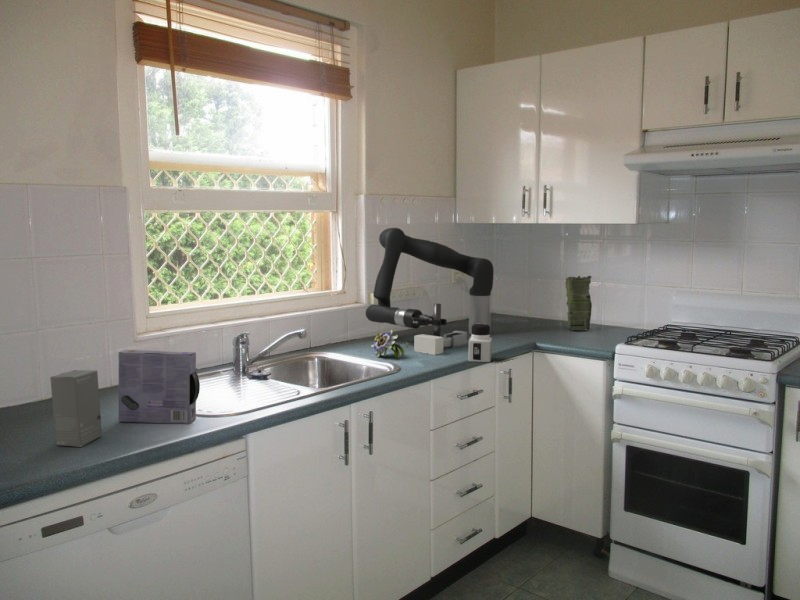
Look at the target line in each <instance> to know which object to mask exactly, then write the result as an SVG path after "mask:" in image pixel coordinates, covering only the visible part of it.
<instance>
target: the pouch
mask: <svg viewBox="0 0 800 600" xmlns="http://www.w3.org/2000/svg"><path fill="white" fill-rule="evenodd" d="M592 278H593V277H592V276H591V275H588V276H583V277H581V275H578V276H577V277H576V276H569V277H566V278H565V288H566V297H567V300H566V301H567V302H566V305H567V326H568V328H569V327H570V328H569V330H570V329H573V330H585V329H588V328H591V325H590V324H591V318H592V307H593V305H592V304H593V303H592V300H591V294H590V284H591V282H592V281H591V279H592ZM588 330H589V329H588ZM585 331H586V330H585Z"/></svg>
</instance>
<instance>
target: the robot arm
mask: <svg viewBox="0 0 800 600" xmlns="http://www.w3.org/2000/svg"><path fill="white" fill-rule="evenodd" d="M378 241H379V244H380V245H381V247H382V248H383V249H384V256H383V260H382V264H381V266H380V269H379V271H378V274H377V276H376V280H375V285H374V289H373V298H375V300H377V304H372V305H369V306H368V307H367V308H366V310H365V316H366V319H368V321H370V322H372V323H378V324H379V323H380V324H384V323H385V324H389V325H392V326H393V325H394V326H400V327H403V328H411V329H419V328H420V327H421V326H425V327H428V326H429V327H431V326H433V325H435V326H441V327H442V325H443V326H446V325H447V324H448V323H447V322H448V321H447V319H446V318H441V320H435V319H434V314H432V315H430V314H423V312H422V310H420V309H415V308H407V307H393V306H391V295H392V294H391V293H392V289H393V286H394V285H393V284H394V279H395V275H396V271H397V266H398V263H399V261H400V257H401V254H406V255H409V256H411V257H413V258H416V259H418V260H421V261H422V262H424V263H428V264H430V265H434V266H437V267H440V268H444V269H451V270H456V271H457V272H460V273H463V274H465V275H467V276H469V277H470V278H473V282H472V286H471V287H470V288H469V295H468V296H469V297H468V298H469V300H468V304H469V305H468V335H472V325H474V324H477V323H482V324H487V325H489V326H490V334H492V333H491V332H492V331H491V330H492V328H491V327H492V311H491V301H492V299H491V298H492V297H491V295H492V290H493V287H494V265H493V263H492V261H491V260H489V259H487V258H484V257H483V258H482V257H474V256H470V255H466V254H463V253H460V252H458V251H457V250H454V249H453V248H451V247H449V246H447V245H444V244H441V243H438V242H435V241H433V240H427V239H421V238H414V237H411V236H409V235H407V234H405V232H404V231H403V230H402V229H401V228H399V227H389V228H386V229H383V230H382V231H381V233H380V235H379V238H378Z"/></svg>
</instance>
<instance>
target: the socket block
mask: <svg viewBox="0 0 800 600" xmlns="http://www.w3.org/2000/svg"><path fill="white" fill-rule="evenodd" d="M443 338H444V336H441V337H439V336H433V334H432V335H430V334H426V333H425V334H424V333H422V334H417V335H414V338H413V339H414V340H413V341H414V344H413V345H414V346H413V351H414V352H416V353H421V352H422V353H424V354H427V353H428V354H427V355H434V356H436V354H437V355H441V354H443V353H444V348H443ZM440 353H441V354H440Z"/></svg>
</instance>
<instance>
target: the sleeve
mask: <svg viewBox="0 0 800 600" xmlns="http://www.w3.org/2000/svg"><path fill="white" fill-rule="evenodd" d="M447 337H452V338H453V345H452V346H448V347H447V348H451V347H453V348H452V349H455V347H457V348H460V347H459V346H461V347H464V346H463V345H465V346H467V344H468V345H469V332H467V331H462V330H453V331H452V332H451V333H446V334H445V333H444V334H443V338H447Z"/></svg>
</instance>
